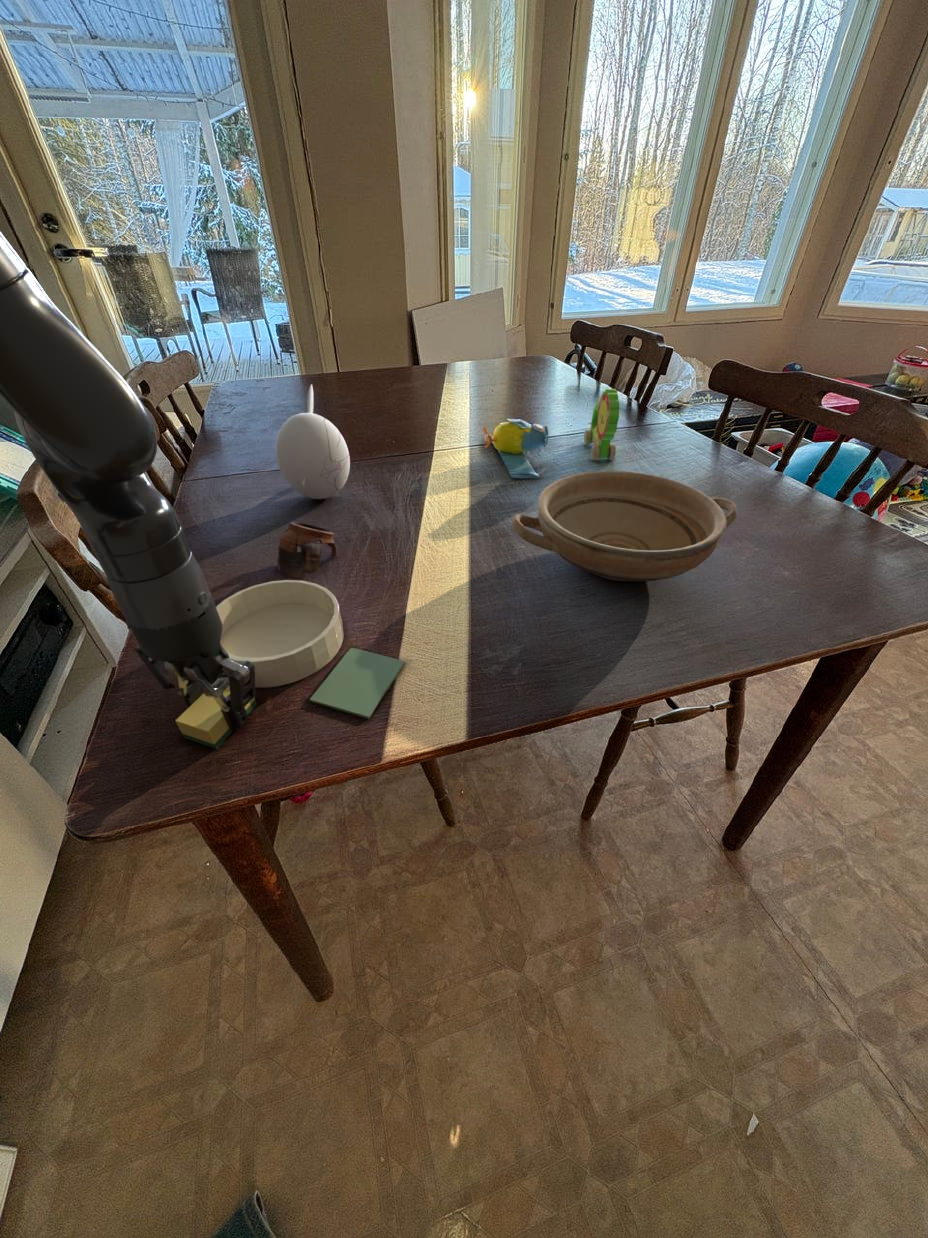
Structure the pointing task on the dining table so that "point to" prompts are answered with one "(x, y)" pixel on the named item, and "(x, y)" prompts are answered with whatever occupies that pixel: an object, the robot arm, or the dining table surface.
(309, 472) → the spiked white egg
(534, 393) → the dining table surface
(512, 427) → the toy airplane
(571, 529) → the ceramic bowl
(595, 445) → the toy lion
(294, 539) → the pottery mug
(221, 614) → the wash bowl
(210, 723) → the sponge
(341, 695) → the mat
